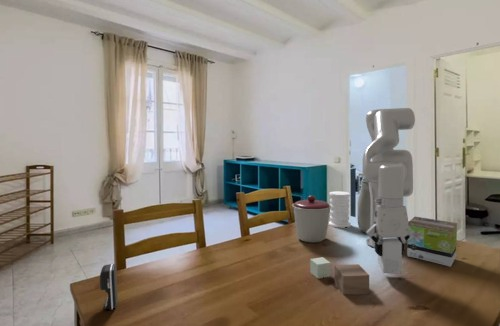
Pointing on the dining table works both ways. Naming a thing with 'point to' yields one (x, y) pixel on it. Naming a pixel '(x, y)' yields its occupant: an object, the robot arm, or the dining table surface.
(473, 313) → the dining table surface
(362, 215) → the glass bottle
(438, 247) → the tea box
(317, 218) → the canister
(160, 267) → the dining table surface
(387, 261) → the small box
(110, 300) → the battery charger
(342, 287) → the walnut block
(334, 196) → the decorative container
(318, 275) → the sage block
